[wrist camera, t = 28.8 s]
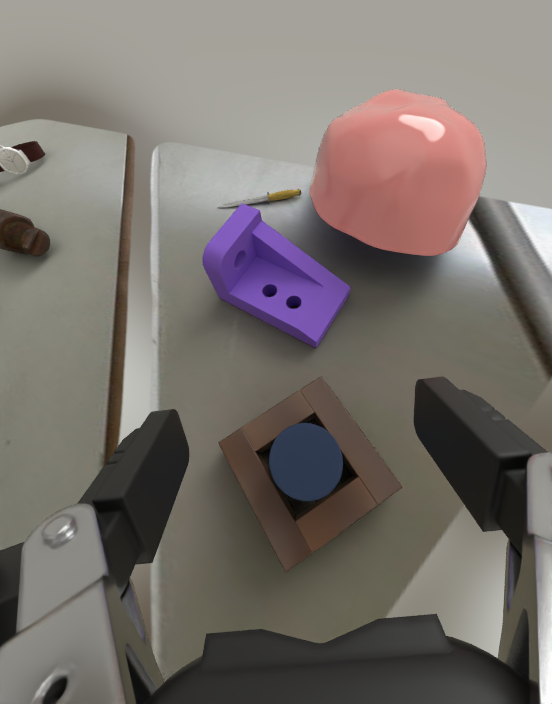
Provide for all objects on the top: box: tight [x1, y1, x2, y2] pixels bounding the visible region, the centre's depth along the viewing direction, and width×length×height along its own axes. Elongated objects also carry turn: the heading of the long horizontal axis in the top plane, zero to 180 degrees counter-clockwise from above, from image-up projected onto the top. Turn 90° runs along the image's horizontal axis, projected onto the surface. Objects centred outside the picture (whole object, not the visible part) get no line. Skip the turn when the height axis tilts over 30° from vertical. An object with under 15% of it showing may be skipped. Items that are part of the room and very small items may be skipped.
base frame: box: [219, 377, 402, 572], centre depth 24 cm, size 10×10×3 cm
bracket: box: [203, 203, 351, 348], centre depth 28 cm, size 12×7×7 cm, turn 58°
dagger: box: [217, 189, 301, 208], centre depth 37 cm, size 11×1×2 cm
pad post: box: [269, 423, 343, 501], centre depth 21 cm, size 4×4×9 cm
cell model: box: [309, 89, 487, 256], centre depth 30 cm, size 17×20×11 cm
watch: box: [0, 141, 45, 174], centre depth 43 cm, size 8×5×4 cm, turn 110°
